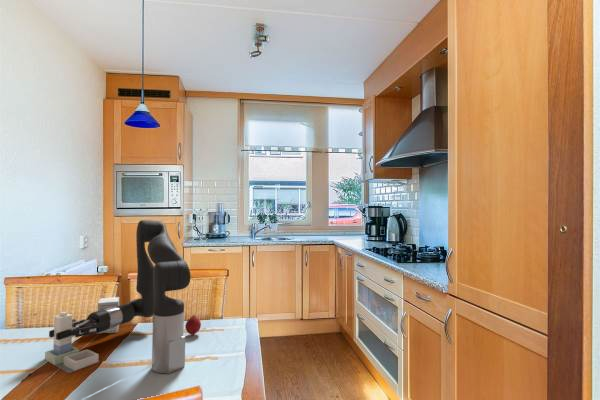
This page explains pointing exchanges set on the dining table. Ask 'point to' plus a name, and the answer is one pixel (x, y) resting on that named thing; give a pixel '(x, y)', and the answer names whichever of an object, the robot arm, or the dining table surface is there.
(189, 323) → the onion
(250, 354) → the dining table surface
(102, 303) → the supplement box
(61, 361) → the double bin tray
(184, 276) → the robot arm
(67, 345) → the milk carton
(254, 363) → the dining table surface
